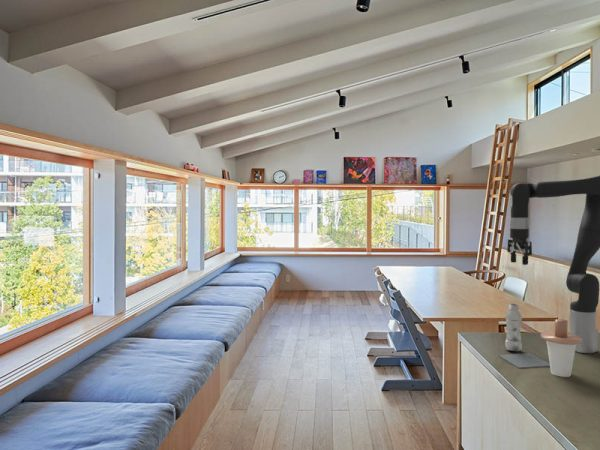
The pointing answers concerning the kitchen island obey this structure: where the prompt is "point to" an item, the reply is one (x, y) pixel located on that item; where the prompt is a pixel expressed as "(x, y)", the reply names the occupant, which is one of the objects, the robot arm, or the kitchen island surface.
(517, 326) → the plastic bottle
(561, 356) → the foam cup
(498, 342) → the kitchen island surface
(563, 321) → the lid
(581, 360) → the kitchen island surface
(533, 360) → the mat
